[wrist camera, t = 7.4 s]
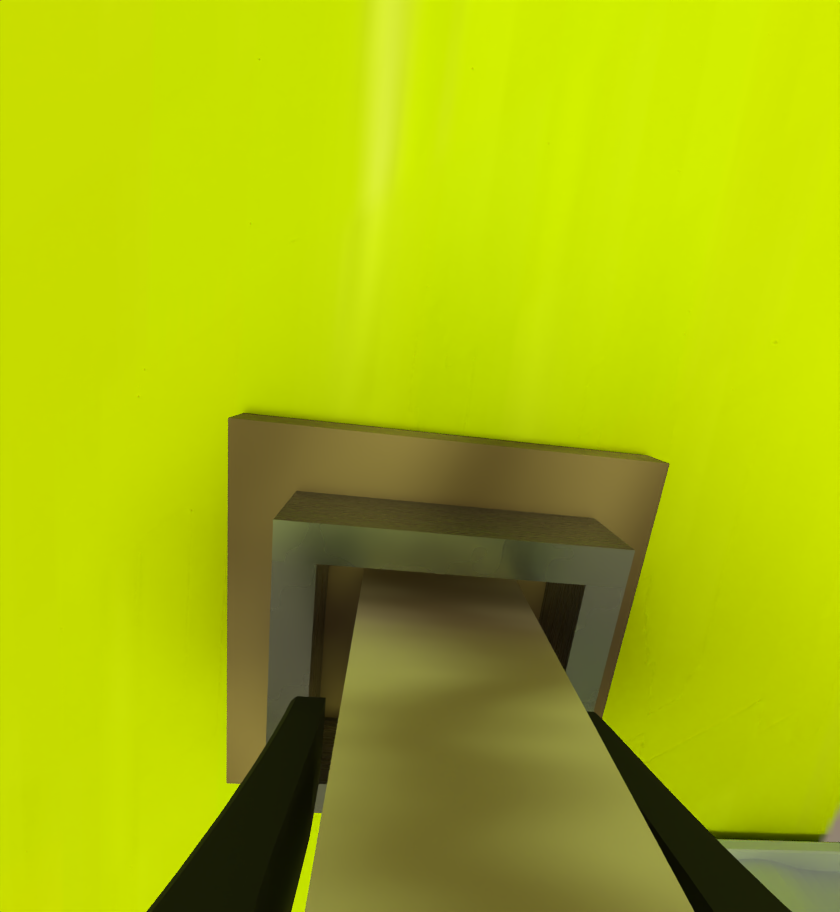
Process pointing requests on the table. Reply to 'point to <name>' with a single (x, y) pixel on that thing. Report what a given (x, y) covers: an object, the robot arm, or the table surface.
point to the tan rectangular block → (473, 768)
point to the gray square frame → (443, 552)
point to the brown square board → (408, 479)
